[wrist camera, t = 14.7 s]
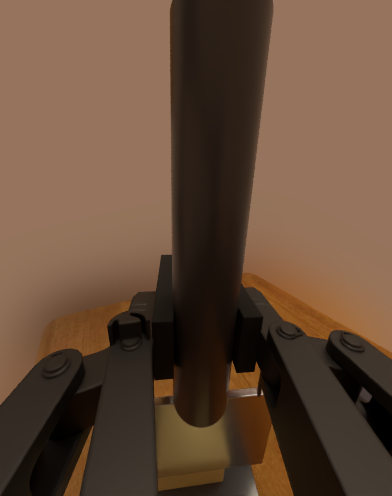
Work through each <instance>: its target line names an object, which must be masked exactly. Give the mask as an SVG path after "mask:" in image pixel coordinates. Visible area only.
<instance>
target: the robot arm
mask: <svg viewBox="0 0 392 496" xmlns="http://www.w3.org/2000/svg"><path fill="white" fill-rule="evenodd" d="M107 327H108V334H109V341H110V347H108V348H106V349H104V350H102V351H100V352H97V353H94V354H91V355H87V356H84V357H82V354H81V353H80V352H79V351H78V350H75V349H63V350H60V351H57V352H54V353H52V354H50V355H48V356H47V357H45V358H43V359H42V360H41V361H40V362H39V363H37V364H36V365H35V366H34V367H33V368H32V370H31V371H30V372H29V373H28V374H27V375H26V377H25V378H24V379H23V380H22V381H21V382H20V383H19V385H18V386H17V387H16V388H15V389H14V390H13V392H12V393H11V394H10V395H9V396H8V397H7V398H6V400H5V401H4V402H3V403H2V404H1V405H0V496H63V495H64V492H65V490H66V488H67V485H68V483H69V480H70V478H71V476H72V473H73V471H74V468H75V466H76V464H77V461H78V459H79V457H80V454H81V452H82V449H83V447H84V445H85V442H86V440H87V438H88V435H89V433H90V430H91V428H92V426H93V425H94V427H93V432H92V437H91V442H90V447H89V451H88V456H87V461H86V466H85V471H84V476H83V481H82V485H81V490H80V495H79V496H159V492H158V470H157V448H156V425H155V403H154V379H155V380H164V379H174V315H173V302H172V255H161V261H160V268H159V275H158V282H157V288H156V291H154V292H139V293H137V294H136V295H135V296H134V297H133V299H132V301H131V304H130V307H129V311H126V312H122V313H120V314H118V315H116V316H115V317H114V318H112V319H111V320H110V322H109V324H108V325H107ZM232 361H233V364H234V367H235V370H236V373H244V372H254V371H255V365H256V362H257V364H258V366H259V368H260V370H261V371H260V377H259V382H258V388H257V397H260V396H261V390H262V391H263V395H264V398H265V401H266V405H267V408H268V411H269V415H270V418H271V421H272V425H273V428H274V431H275V434H276V438H277V441H278V444H279V448H280V451H281V454H282V458H283V461H284V464H285V468H286V471H287V474H288V478H289V481H290V484H291V487H292V491H293V494H294V496H392V360H391V359H390V358H389V357H387V356H386V355H385V354H383V353H382V352H381V351H379V350H378V349H376V348H375V347H374V346H372V345H371V344H370V343H368V342H367V341H366V340H364V339H362V338H361V337H359V336H357V335H355V334H352V333H350V332H346V331H342V330H335V331H332V332H331V333H330V335H329V338H328V340H325V339H320V338H314V337H309V336H307V335H306V334H305V333H304V332H303V331H302V330H301V329H300V328H299V327H297V326H296V325H294V324H292V323H289V322H286V321H283V320H282V318H281V317H280V316H279V314H278V313H277V312H276V311H275V309H274V308H273V307H272V306H271V304H269V302H268V301H267V299H266V298H265V297H264V296H263V294H262V293H261V292H260V291H258V290H257V289H255V288H253V287H249V288H244V287H243V285H242V284H241V288H240V297H239V305H238V314H237V322H236V330H235V339H234V347H233V356H232ZM362 388H364V389H365V390H366V391H367V392H368V393H369V394H370V395H371V396H372V397H371V399H370V401H367V400H365V399H364V398H363V397H361V396H360V393H361V390H362Z"/></svg>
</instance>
